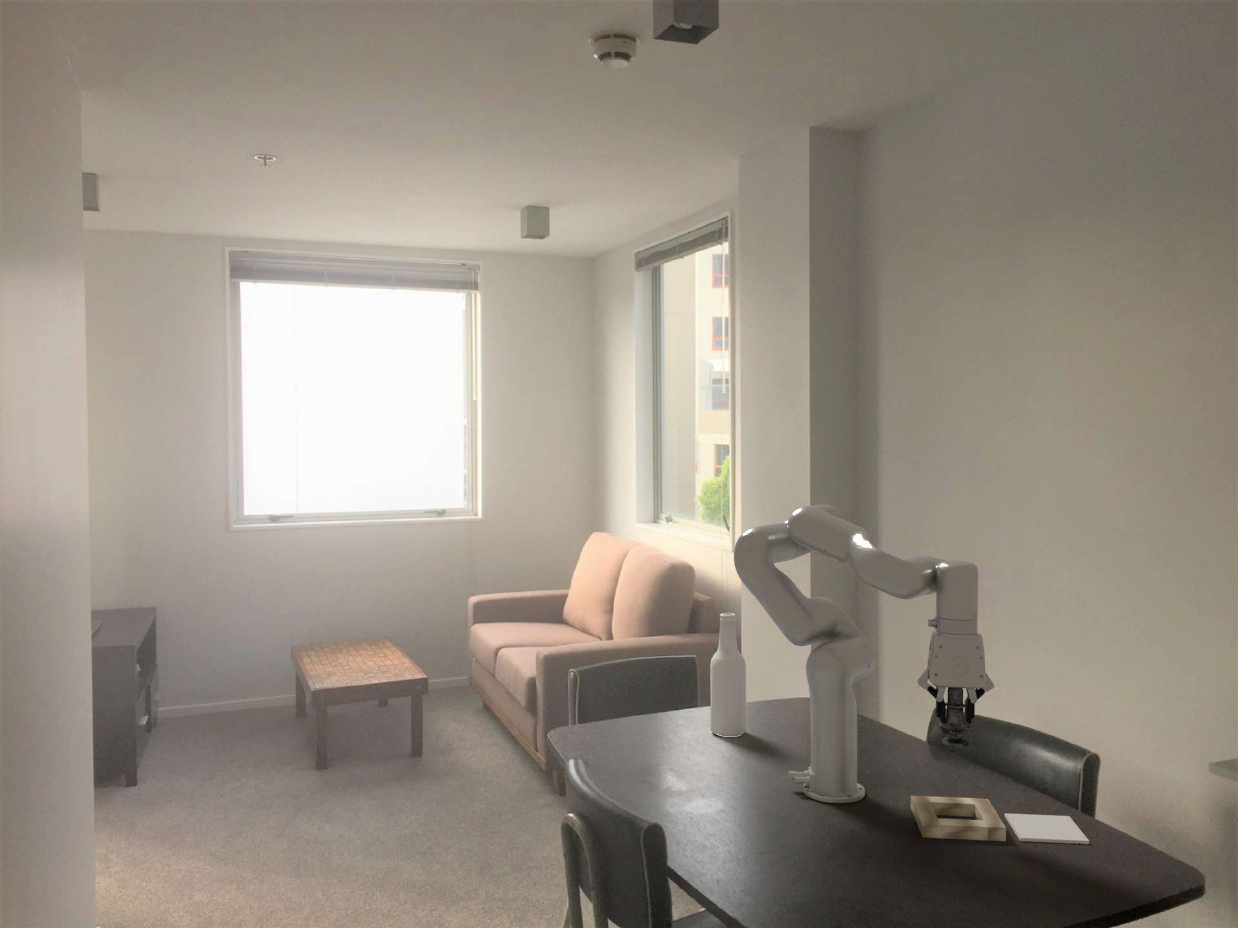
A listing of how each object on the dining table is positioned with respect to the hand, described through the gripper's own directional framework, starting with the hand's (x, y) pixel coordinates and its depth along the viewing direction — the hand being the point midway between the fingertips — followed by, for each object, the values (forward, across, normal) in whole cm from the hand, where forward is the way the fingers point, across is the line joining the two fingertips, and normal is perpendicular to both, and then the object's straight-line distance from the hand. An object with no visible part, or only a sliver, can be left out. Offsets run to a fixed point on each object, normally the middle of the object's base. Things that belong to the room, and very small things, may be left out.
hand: (954, 720), depth 194 cm
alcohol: (+21, -44, +54) cm, 73 cm away
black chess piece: (+5, 0, 0) cm, 5 cm away
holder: (+20, 0, 0) cm, 20 cm away
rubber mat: (+20, +16, -1) cm, 26 cm away
